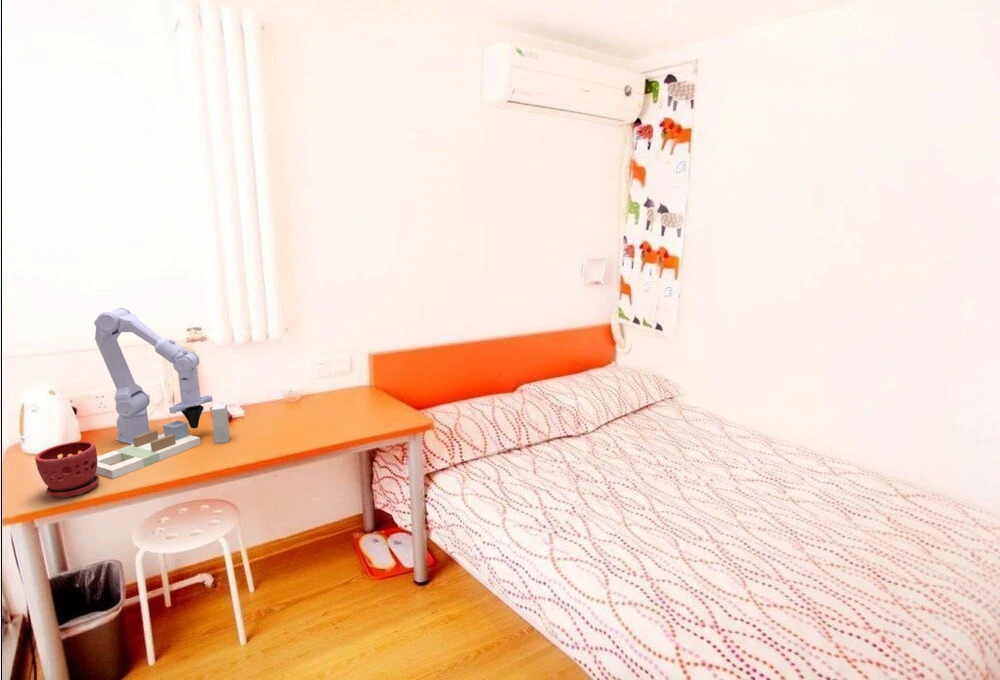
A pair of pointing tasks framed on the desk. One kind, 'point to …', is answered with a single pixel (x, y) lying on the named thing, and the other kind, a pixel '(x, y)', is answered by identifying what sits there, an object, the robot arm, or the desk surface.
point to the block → (176, 429)
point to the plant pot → (68, 468)
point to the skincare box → (220, 423)
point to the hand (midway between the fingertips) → (194, 427)
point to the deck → (143, 453)
